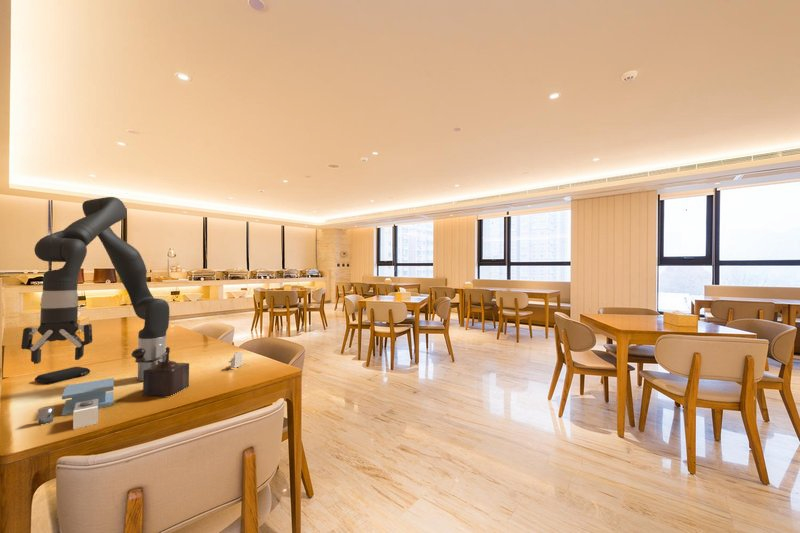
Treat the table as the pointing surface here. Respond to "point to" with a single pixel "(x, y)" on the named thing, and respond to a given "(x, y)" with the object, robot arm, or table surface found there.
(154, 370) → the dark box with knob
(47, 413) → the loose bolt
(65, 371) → the carrying case or bag
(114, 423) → the table surface
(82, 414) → the block
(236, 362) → the architectural model
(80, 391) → the stand
